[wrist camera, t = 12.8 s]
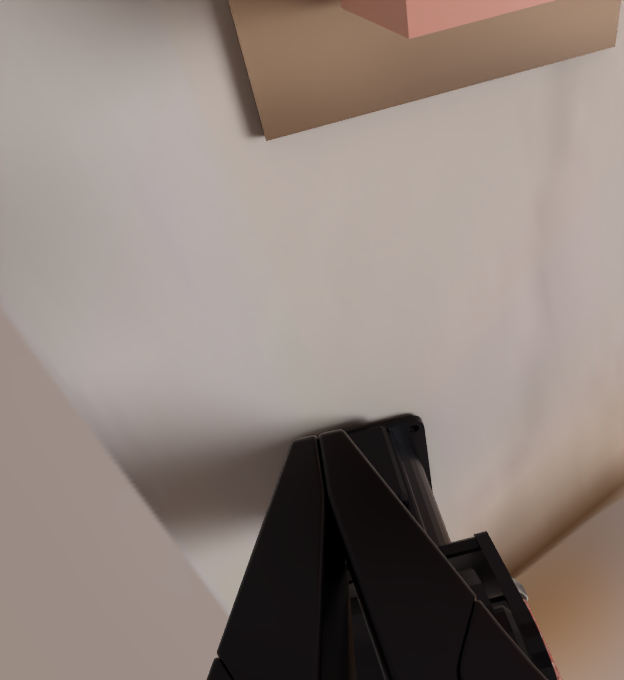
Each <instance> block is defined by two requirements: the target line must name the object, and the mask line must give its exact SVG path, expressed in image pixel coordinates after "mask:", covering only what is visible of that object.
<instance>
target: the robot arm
mask: <svg viewBox="0 0 624 680" xmlns="http://www.w3.org/2000/svg"><path fill="white" fill-rule="evenodd" d="M413 425H414V426H413ZM217 655H218V657H219V658H220V659H219V658H215V659H214V661H213V663H212V666H211V669H210V672H209V675H208V677H207V680H557V677H556V674H555V671H554V668H553V665H552V662H551V659H550V657H549V654H548V651H547V649H546V646H545V644H544V641H543V639H542V637H541V634H540V632H539V630H538V628H537V625H536V623H535V621H534V619H533V617H532V615H531V613H530V611H529V609H528V607H527V605H526V604H525V602H524V600H523V598H522V596H521V594H520V592H519V591H518V589H517V587H516V585H515V583H514V581H513V579H512V577H511V576H510V574H509V572H508V570H507V568H506V566H505V564H504V563H503V561H502V559H501V557H500V555H499V553H498V551H497V550H496V548H495V546H494V544H493V542H492V540H491V538H490V537H489V535H488V533H487V531H485V532H481V533H477V534H474V537H471V538H467V539H463V540H460V541H456V542H452V543H451V541H450V538H449V536H448V533H447V530H446V528H445V525H444V522H443V520H442V517H441V514H440V512H439V509H438V506H437V504H436V501H435V498H434V495H433V492H432V484H431V476H430V468H429V460H428V453H427V445H426V437H425V429H424V425H423V422H422V420H421V418H420V417H419V416H409V417H405V418H401V419H397V420H393V421H389V422H385V423H381V424H376V425H372V426H368V427H364V428H360V429H356V430H352V431H348V432H345V431H344V430H342V429H337V430H333V431H328V432H324V433H321V434H320V435H319V437H317V436H315V435H311V436H307V437H302V438H298V439H295V440H293V441H292V443H291V445H290V448H289V450H288V453H287V456H286V459H285V462H284V464H283V467H282V470H281V473H280V476H279V479H278V481H277V484H276V487H275V490H274V493H273V495H272V498H271V501H270V504H269V507H268V509H267V512H266V515H265V518H264V521H263V524H262V526H261V529H260V532H259V535H258V538H257V540H256V543H255V546H254V549H253V552H252V554H251V557H250V560H249V563H248V566H247V568H246V571H245V574H244V577H243V580H242V583H241V585H240V588H239V591H238V594H237V597H236V599H235V602H234V605H233V608H232V611H231V613H230V616H229V619H228V622H227V625H226V628H225V630H224V633H223V636H222V639H221V642H220V644H219V647H218V650H217Z"/></svg>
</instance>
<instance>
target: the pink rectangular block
mask: <svg viewBox="0 0 624 680" xmlns="http://www.w3.org/2000/svg"><path fill="white" fill-rule="evenodd" d="M340 1H341V8H342V9H345V10H347V11H349V12H351V13H353V14H355V15H358V16H360V17H362V18H364V19H366V20H369V21H371V22H373V23H375V24H377V25H379V26H382V27H384V28H386V29H388V30H390V31H393V32H395V33H397V34H399V35H401V36H403V37H406V38H408V39H411V38H415V37H419V36H423V35H426V34H430V33H434V32H438V31H442V30H445V29H449V28H453V27H457V26H460V25H464V24H468V23H472V22H476V21H479V20H483V19H487V18H491V17H494V16H498V15H502V14H506V13H510V12H513V11H517V10H521V9H525V8H529V7H532V6H536V5H540V4H544V3H547V2H551V1H555V0H340Z"/></svg>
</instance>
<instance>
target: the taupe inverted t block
mask: <svg viewBox="0 0 624 680" xmlns="http://www.w3.org/2000/svg"><path fill="white" fill-rule="evenodd" d="M228 2H229V6H230V9H231V13H232V17H233V20H234V24H235V28H236V31H237V35H238V39H239V42H240V46H241V50H242V54H243V57H244V61H245V65H246V68H247V72H248V76H249V79H250V83H251V87H252V90H253V94H254V98H255V101H256V105H257V109H258V112H259V116H260V120H261V123H262V127H263V131H264V134H265V138H266V141H268V140H272V139H275V138H279V137H283V136H286V135H290V134H294V133H297V132H301V131H305V130H308V129H312V128H316V127H320V126H323V125H327V124H331V123H334V122H338V121H342V120H345V119H349V118H353V117H356V116H360V115H364V114H367V113H371V112H375V111H379V110H382V109H386V108H390V107H393V106H397V105H401V104H404V103H408V102H412V101H415V100H419V99H423V98H426V97H430V96H434V95H438V94H441V93H445V92H449V91H452V90H456V89H460V88H463V87H467V86H471V85H474V84H478V83H482V82H485V81H489V80H493V79H497V78H500V77H504V76H508V75H511V74H515V73H519V72H522V71H526V70H530V69H533V68H537V67H541V66H544V65H548V64H552V63H555V62H559V61H563V60H567V59H570V58H574V57H578V56H581V55H585V54H589V53H592V52H596V51H600V50H603V49H607V48H611V47H614V46H615V42H616V35H617V27H618V19H619V11H620V4H621V0H555V1H551V2H547V3H544V4H540V5H536V6H532V7H529V8H525V9H521V10H517V11H513V12H510V13H506V14H502V15H498V16H494V17H491V18H487V19H483V20H479V21H476V22H472V23H468V24H464V25H460V26H457V27H453V28H449V29H445V30H442V31H438V32H434V33H430V34H426V35H423V36H419V37H415V38H411V39H408V38H406V37H403V36H401V35H399V34H397V33H395V32H393V31H390V30H388V29H386V28H384V27H382V26H379V25H377V24H375V23H373V22H371V21H369V20H366V19H364V18H362V17H360V16H358V15H355V14H353V13H351V12H349V11H347V10H345V9H342V8H341V1H340V0H228Z"/></svg>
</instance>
